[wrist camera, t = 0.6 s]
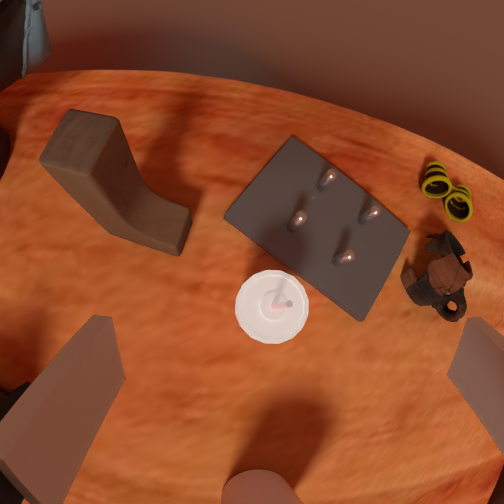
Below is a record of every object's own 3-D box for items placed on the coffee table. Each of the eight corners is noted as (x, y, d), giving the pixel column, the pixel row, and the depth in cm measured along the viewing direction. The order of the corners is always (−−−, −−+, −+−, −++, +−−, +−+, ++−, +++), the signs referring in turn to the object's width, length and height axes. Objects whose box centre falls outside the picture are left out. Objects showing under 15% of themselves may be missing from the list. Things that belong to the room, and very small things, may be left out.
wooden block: (193, 220, 35) (184, 130, 17) (179, 258, 34) (154, 196, 16) (122, 198, 34) (67, 106, 16) (108, 233, 33) (35, 161, 15)
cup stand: (223, 218, 35) (226, 202, 30) (289, 140, 39) (300, 118, 34) (358, 321, 35) (380, 320, 30) (405, 233, 38) (428, 222, 33)
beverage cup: (246, 347, 33) (274, 367, 19) (217, 299, 33) (224, 287, 20) (293, 318, 34) (347, 317, 20) (264, 271, 35) (302, 241, 21)
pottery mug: (385, 257, 38) (433, 222, 32) (414, 254, 43) (454, 225, 38) (422, 340, 33) (477, 312, 27) (445, 324, 39) (490, 299, 33)
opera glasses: (458, 205, 43) (478, 191, 38) (456, 227, 40) (478, 214, 36) (418, 169, 43) (437, 152, 38) (414, 190, 40) (435, 173, 36)
